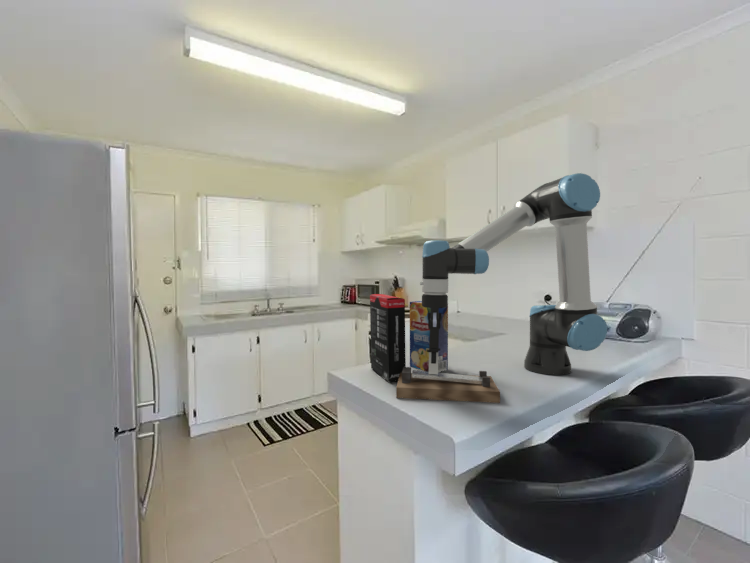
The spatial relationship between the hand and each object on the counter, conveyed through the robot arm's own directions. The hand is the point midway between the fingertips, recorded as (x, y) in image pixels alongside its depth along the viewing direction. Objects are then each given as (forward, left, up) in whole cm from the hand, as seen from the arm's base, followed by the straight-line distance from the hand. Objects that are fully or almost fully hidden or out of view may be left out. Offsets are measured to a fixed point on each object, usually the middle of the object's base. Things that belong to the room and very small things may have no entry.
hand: (433, 373), depth 105 cm
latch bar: (-5, 0, -2) cm, 5 cm away
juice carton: (+1, -24, -6) cm, 25 cm away
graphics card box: (+15, -14, -6) cm, 22 cm away
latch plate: (-4, 0, -5) cm, 6 cm away
